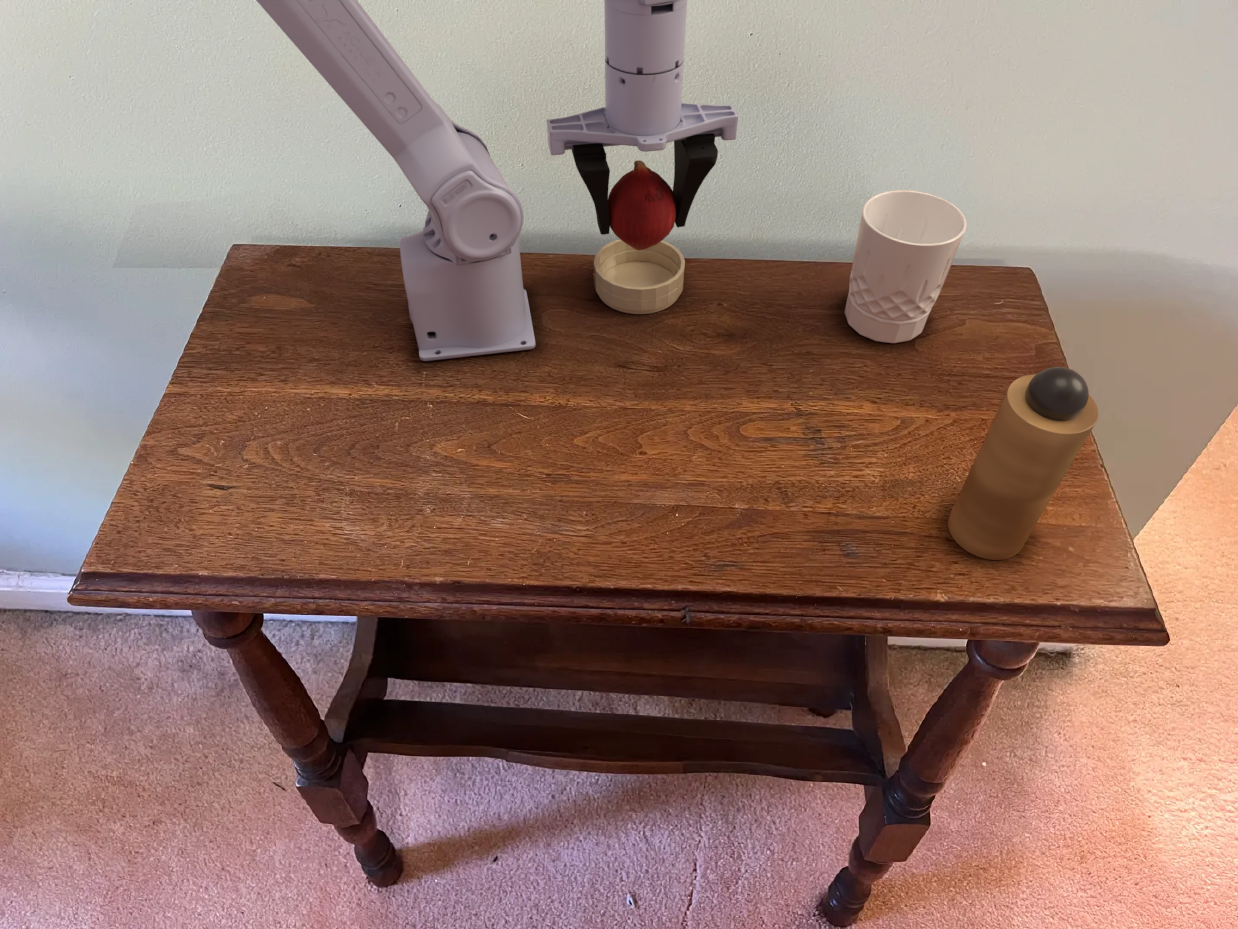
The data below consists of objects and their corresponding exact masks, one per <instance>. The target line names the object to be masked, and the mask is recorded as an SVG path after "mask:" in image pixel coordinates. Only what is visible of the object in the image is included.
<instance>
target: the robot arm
mask: <svg viewBox="0 0 1238 929" xmlns="http://www.w3.org/2000/svg"><path fill="white" fill-rule="evenodd" d="M255 1H256V2H257V4H259V6H260V7H261V8H262V9H263V10H264V11H265V13H266V14H268V16H269V17H270V18H271V20H272V21H274V22H275V24H276V25H277V27H279V28H280V30H281V31H282V32H283V33H284V34H285V35H286V36H287V38H288V39H289V40H290V41H291V42H292V43H293V44H294V45H295V47H296V48H297V49H298V50H299V52H300V53H301V54H302V55H303V56H304V57H305V59H306V60H308V62H309V63H310V64H311V66H313V68H314V69H315V70H316V71H317V73H319V75H321V77H322V78H323V79H324V80H325V81H326V82H327V84H328V85H329V87H331V88H332V89H333V91H334V92H335V93H336V94H337V95H338V96H339V98H340V99H341V100H342V101H343V102H344V103H345V105H347V107H348V108H349V109H350V110H351V111H352V112H353V114H354V115H355V116H356V117H357V118H358V120H360V122H361V123H362V124H363V125H364V126H365V128H367V130H368V131H369V132H370V133H371V134H372V135H373V137H374V138H375V139H376V140H377V141H378V143H380V144H381V147H383V149H385V151H386V152H387V153H388V154H389V156H391V158H393V160H394V161H395V163H396V164H397V166H398V167H399V169H400V170H401V172H402V173H403V174H404V176H405V178H406V180H408V182H409V184H410V185H411V187H412V188H413V190H414V191H415V192H416V194H417V195H418V197H419V198H420V200H421V201H422V202H423V203H424V205H426V207H427V215H426V218H425V221H424V227H423V229H422V230H421V231H420V232H417V233H414V234H411V235H407V236H403V237H401V238H399V252H400V253H399V254H400V263H401V269H402V271H401V272H402V276H403V283H404V290H405V294H406V299H407V303H408V304H407V305H408V306H407V307H408V313H409V319H410V322H411V323H412V325H413V329H414V330H413V331H414V334H415V338H416V343H417V347H418V348H417V349H418V356H419V359H420V361H423V362H431V361H438V360H440V361H441V360H449V359H457V358H466V357H473V356H484V355H493V354H501V353H509V352H510V353H511V352H519V351H529V350H532V349H535V347H536V344H537V343H536V338H535V333H534V332H535V331H534V326H533V320H532V315H531V311H530V304H529V297H528V293H527V290H526V289H525V288H524V281H523V280H524V279H523V270H522V260H521V252H520V251H521V250H520V239H519V237H520V234H521V232H522V229H523V226H524V221H525V220H524V218H525V217H524V208H523V205H522V202H521V200H520V197H519V196H518V195H517V193H516V192H514V190H513V189H512V188H511V187H510V186H509V185H508V183H507V181H506V180H505V178H504V176H503V175H502V173H501V171H500V170H499V168H498V167H497V165H496V164H495V162H494V160H493V159H492V157H491V154H490V152H489V149H488V147H487V145H486V143H485V142H484V140H483V139H482V138H481V137H480V136H479V135H478V134H477V133H475V132H473V131H472V130H470V129H468V128H465V127H463V126H460V125H459V124H458V123H456V122H455V121H454V120H452V119H451V118H450V116H449V115H448V114H447V113H446V112H445V110H444V109H443V108H442V106H441V105H440V104H439V103H438V102H437V101H435V100H434V98H432V96H431V95H430V94H429V92H428V91H427V90H426V89H425V87H424V86H423V85H422V83H421V81H419V79H418V78H417V77H416V76H415V74H414V73H413V72H412V71H411V69H410V67H409V66H408V65H407V64H406V62H405V61H404V60H403V59H402V57H401V56H400V55H399V53H398V52H397V50H396V49H395V48H394V47H393V45H392V44H391V43H390V42H389V40H388V39H387V37H386V36H385V35H384V34H383V32H382V31H381V30H380V29H379V27H378V26H377V24H376V23H375V22H374V20H373V19H372V18H371V17H370V16H369V14H368V13H367V11H366V10H365V9H364V7H363V6H362V5H361V3H360V2H359V1H358V0H255ZM603 2H604V7H603V8H604V94H605V95H604V102H605V103H604V106H603V107H599V108H595V109H591V110H587V111H584V112H580V113H576V114H573V115H568V116H564V117H557V118H548V119H546V132H547V134H546V135H547V144H548V149H549V152H550V155H551V156H560V155H561V156H562V155H564V154H565V153H566V151H570V150H571V153H572V156H573V161H574V164H575V168H576V170H577V171H578V174H579V176H580V177H581V179H582V181H583V183H584V184H585V186H586V188H587V190H588V193H589V194H590V197H591V199H592V202H593V204H594V208H595V215H596V221H597V222H596V224H597V226H598V229H599V232H600V235H602V236H603V235H604V236H605V235H610V229H611V228H610V222H609V211H608V197H609V184H610V173H611V170H610V167H609V164H608V160H607V152H606V150H605V147H615V146H616V147H617V146H627V147H628V146H629V147H637V149H638V150H639V151H640V152H645V153H646V152H659V151H663V150H665V149H666V148H667V144H669V143H672V142H673V153H674V157H673V158H674V160H673V162H674V163H673V164H674V166H673V167H674V171H673V172H674V174H673V184H672V185H673V186H672V191H673V192H674V195H675V198H676V206H677V212H676V219H675V223H674V225H675V226H676V228H684V227H685V226H686V223H687V219H688V216H689V213H690V210H691V206H692V205H693V202H694V200H695V197H696V195H697V193H698V191H699V189H700V187H701V186H702V184H703V183H704V181H705V179H706V178H707V177H708V175H709V173H710V172H711V171H712V170H713V169H714V167H715V166H716V163H717V160H718V155H719V149H718V148H717V145H716V144H715V141H716V138H721V140H722V141H735V140H736V139H737V134H738V132H737V131H738V124H739V115H738V113H737V110H736V109H735V107H734V106H733V105H732V104H703V103H691V102H689V103H688V102H682V101H683V100H682V99H683V98H682V97H683V83H684V81H683V80H684V64H685V47H686V46H685V45H686V29H687V11H688V10H687V9H688V0H603Z"/></svg>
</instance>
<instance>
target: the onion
mask: <svg viewBox="0 0 1238 929" xmlns="http://www.w3.org/2000/svg"><path fill="white" fill-rule="evenodd" d="M633 165H634V166H633V169H632V170H630V171H628V172H626V173H625V174H623V175H622V176H621V177H620V178H619V179H618V181H616V182H615V184H614V185H613V186H612V188H611V189H610V192H609V193H608V211H609V222H610V229H611V231H612V233H613V234H614V236H616V237H617V238H618V239H621V240H622V241H623V242H625V243H626V244H628V245H629V246H631V247H632V248H634V249H636V250H644V249H647V248H649V247H652V246H654V245H657V244H658V243H659V242H661V241H662V240H663V241H664V239H665V238H666V237H667V236H669V235H670V233H671V232H672V231H673V229H674V228H675V219H676V212H677V206H676V198H675V195H674V192H673V188H672V187H671V186H670V185H669V183H668V182H667V181H666V180H665V179H664V178H663V177H662V176H661V175H660V174H659V173H658V172H657V171H653V170H652V169H651V168H649V166H647V165H646V164H645V162H644V161H642V160H639V159H638V160H635V161H634V162H633Z"/></svg>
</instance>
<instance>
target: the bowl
mask: <svg viewBox="0 0 1238 929" xmlns="http://www.w3.org/2000/svg"><path fill="white" fill-rule="evenodd" d="M685 270H686V260H685V258H684V255H683V253H682V252H681V251H680V250H679V249H678V248H677V247H676V246H675V245H673V244H671V243H669V242H667V241H665V240H664V239H663V240H662V241H661V242H659V243H658V244H657V245H654V246H652V247H649V248H647V249H644V250H636V249H634V248H632V247H631V246H629V245H628V244H626V243H625V242H623V241H622V240H621V239H620V238H618V239H616V240H612V241H610V242H608V243H607V244H604V245H603V246H602V247H601V248H600V249H599V250H598V251H597V253H595V256H594V259H593V286H594V289H595V292H596V294H597V295H598V297H599V299H600V300H601V301H602V302H603V303H604V304H605V305H606V306H608V307H609V308H611V309H613V310H616V311H618V312H621V313H626V314H632V315H648V314H654V313H657V312H661V311H664V310H665V309H668V308H670V307H671V306H672V305H673V304H675V302H677V301H678V299H679V297H680V296H681V294H682V292H683V290H684V284H685Z"/></svg>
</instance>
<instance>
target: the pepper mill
mask: <svg viewBox="0 0 1238 929" xmlns="http://www.w3.org/2000/svg"><path fill="white" fill-rule="evenodd" d="M1089 392H1090V391H1089V387H1088V385H1087V382H1086V380H1085V378H1084V377H1083V376H1082V375H1081V374H1080V373H1078V372H1077V371H1075V370H1074V369H1072V368H1068V367H1064V366H1053V367H1048V368H1045V369H1043V370H1041V371H1039V372H1038V373H1033V374H1027V375H1023V376H1021V377H1018V378H1016V379H1015V380H1013V381H1012V382H1011V383H1010V384H1009V386H1008V388H1007V390H1006V392H1005V394H1004V397H1003V398H1002V401H1001V403H1000V405H999V407H998V409H997V412H996V414H995V415H994V417H993V420H992V422H991V424H990V427H989V429H988V431H987V433H986V435H985V438H984V439H983V442H982V444H981V446H980V448H979V451H978V453H977V455H976V456H975V459H974V461H973V463H972V464H971V465H972V466H971V467H970V470H969V471H968V474H967V476H966V479H965V481H964V483H963V485H962V487H961V489H960V492H959V494H958V496H957V497H956V500H955V502H954V505H953V506H952V509H951V511H950V513H949V515H948V518H947V527H948V528H947V529H948V530H949V531H948V532H949V533H950V535H951V537H952V539H953V540H954V541H955V543H956V544H957V545H958V546H959V547H961V549H963V551H964V550H965V551H966V552H967V553H969V554H970V555H973V556H976V557H978V558H981V559H984V560H990V561H1003V560H1004V561H1005V560H1007V559H1010V558H1012V557H1015V556H1016V555H1017V554H1019V553H1020V552H1021V550H1022V549H1023V547H1024V545H1025V544H1026V542H1027V540H1028V538H1030V535H1031V534H1032V532H1033V530H1034V529H1035V527H1036V525H1037V523H1038V522H1039V520H1040V519H1041V517H1042V515H1043V513H1044V512H1045V510H1046V508H1047V507H1048V505H1049V503H1050V502H1051V500H1052V499H1053V497H1054V495H1055V494H1056V491H1057V490H1058V488H1059V487H1060V485H1061V483H1062V481H1063V479H1064V478H1065V476H1066V474H1067V473H1068V471H1069V469H1070V468H1071V466H1072V464H1073V463H1074V462H1075V459H1076V458H1077V456H1078V454H1079V453H1080V451H1081V449H1082V448H1083V445H1085V442H1086V441H1087V439H1088V437H1089V436H1090V434H1091V432H1092V431H1093V429H1094V427H1095V425H1096V424H1097V422H1098V420H1099V409H1098V405H1097V403H1096V402H1095V400H1094V399H1093V397H1092V396H1091V395H1090V394H1089Z"/></svg>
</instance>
